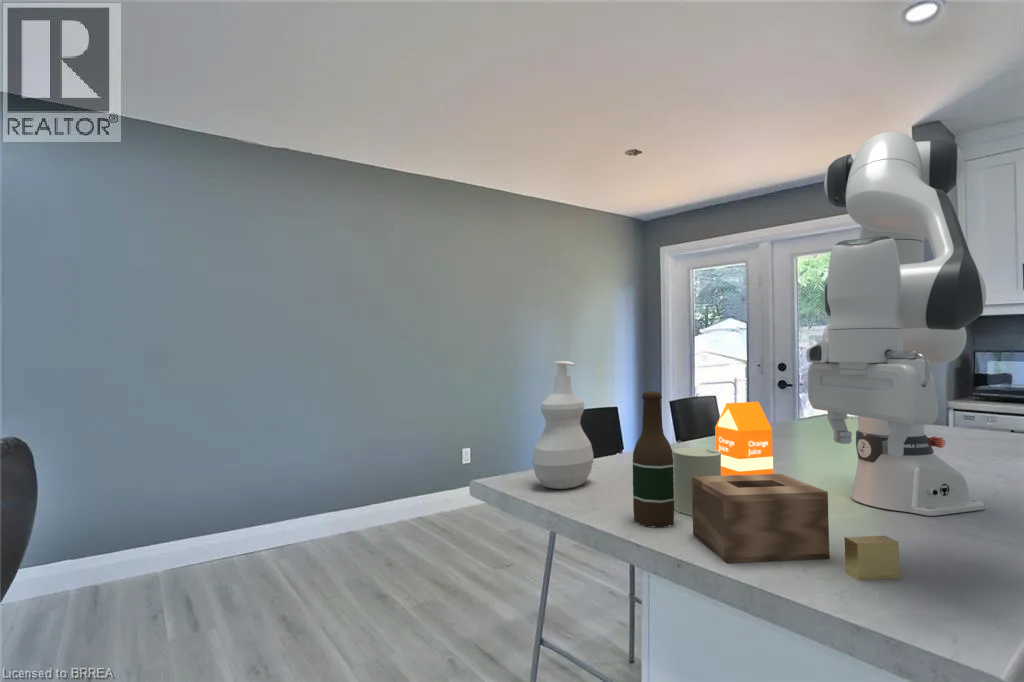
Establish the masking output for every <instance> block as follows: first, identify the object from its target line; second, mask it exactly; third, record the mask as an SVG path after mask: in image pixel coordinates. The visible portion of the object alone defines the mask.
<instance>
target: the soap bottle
mask: <svg viewBox="0 0 1024 682" xmlns="http://www.w3.org/2000/svg"><path fill="white" fill-rule="evenodd" d="M554 365H557V376H554V377H553V378H554V382H553V383H554V388H553V391H552V393H551V394H550V395H548V396H547V397H546V398H545V399H544V400H543V401H542V402H541V405H540V411H541V415H542V416H543V418H544V419H545V427H544V429H543V432H542V434H541V436H540V437H539V439H538V441H537V443H536V444H535V446H534V449H533V457H532V467H533V471H534V474H535V477H536V478H537V480H538V481H539V482H540V483H541V484H542V486H544V487H545V488H550V489H555V490H568V489H573V488H577V487H578V486H582V485H583V484H585V482H586V480H587V479H588V477H589V476H590V474H591V472H592V468H593V462H594V459H595V458H594V457H595V456H594V451H593V447H592V446H593V445H592V442H591V441H590V439H589V438H588V436H587V434H586V433H585V432H584V430H583V428H582V425H581V418H582V416H583V413H584V410H585V404H584V401H583V400H582V399H581V397H579V396H578V395H576V394H575V393H574V392H573V390H572V388H571V387H572V386H571V381H572V380H571V379H572V378H571V376H570V375H568V366H575V365H576V364H575V363H574V362H572V361H568V360H566V361H565V360H564V361H563V360H559V361H557V360H556V361H554Z"/></svg>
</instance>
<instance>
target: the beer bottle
mask: <svg viewBox="0 0 1024 682" xmlns="http://www.w3.org/2000/svg"><path fill="white" fill-rule="evenodd" d="M641 398H642V399H643V408H642V409H643V410H642V429H641V435H640V436H639V438H638V439H637V441H636V442H635V443H636V444H635V445H634V449H633V452H632V497H633V498H632V499H633V500H632V501H633V502H632V503H633V504H632V505H633V506H632V507H633V510H632V512H633V521H634V522H635V523H636V522H638V523H637V524H639V523H640V524H639V525H641V524H642V525H641V526H644V525H645V526H644V527H648V526H655V527H654V528H660V527H662V528H665V527H664V526H667V527H670V526H669V525H671V526H674V523H675V521H674V520H675V509H674V461H673V449H672V446H671V444H670V441H669V440H668V439H667V437H666V436H665V434H664V427H663V420H662V403H661V400H662V398H663V396H662V393H661V391H655V390H653V391H652V390H650V391H649V390H647V391H644V392H643V393H642V396H641Z"/></svg>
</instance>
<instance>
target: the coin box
mask: <svg viewBox="0 0 1024 682" xmlns="http://www.w3.org/2000/svg"><path fill="white" fill-rule="evenodd" d="M692 506H693V516H692V536H693V535H694V536H693V537H695V539H697V540H698V541H699V540H700V541H699V542H701V543H702V544H703V545H704V546H705V547H706V548H708V549H709V550H710V551H712V552H713V553H714V554H715V555H717V556H718V557H719V558H720V559H721V560H723V562H725V563H726V564H735V563H742V564H743V563H759V562H762V563H764V562H782V561H785V562H786V561H787V562H788V561H804V560H805V561H808V560H809V561H810V560H827V559H828V560H830V532H829V531H830V529H829V526H830V525H829V492H828V491H827V490H824V489H821V488H819V487H816V486H813V485H812V484H808V483H806V482H803V481H801V480H799V479H796V478H793V477H791V476H788V475H787V474H786V475H785V474H783V473H773V474H756V475H724V476H692Z"/></svg>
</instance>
